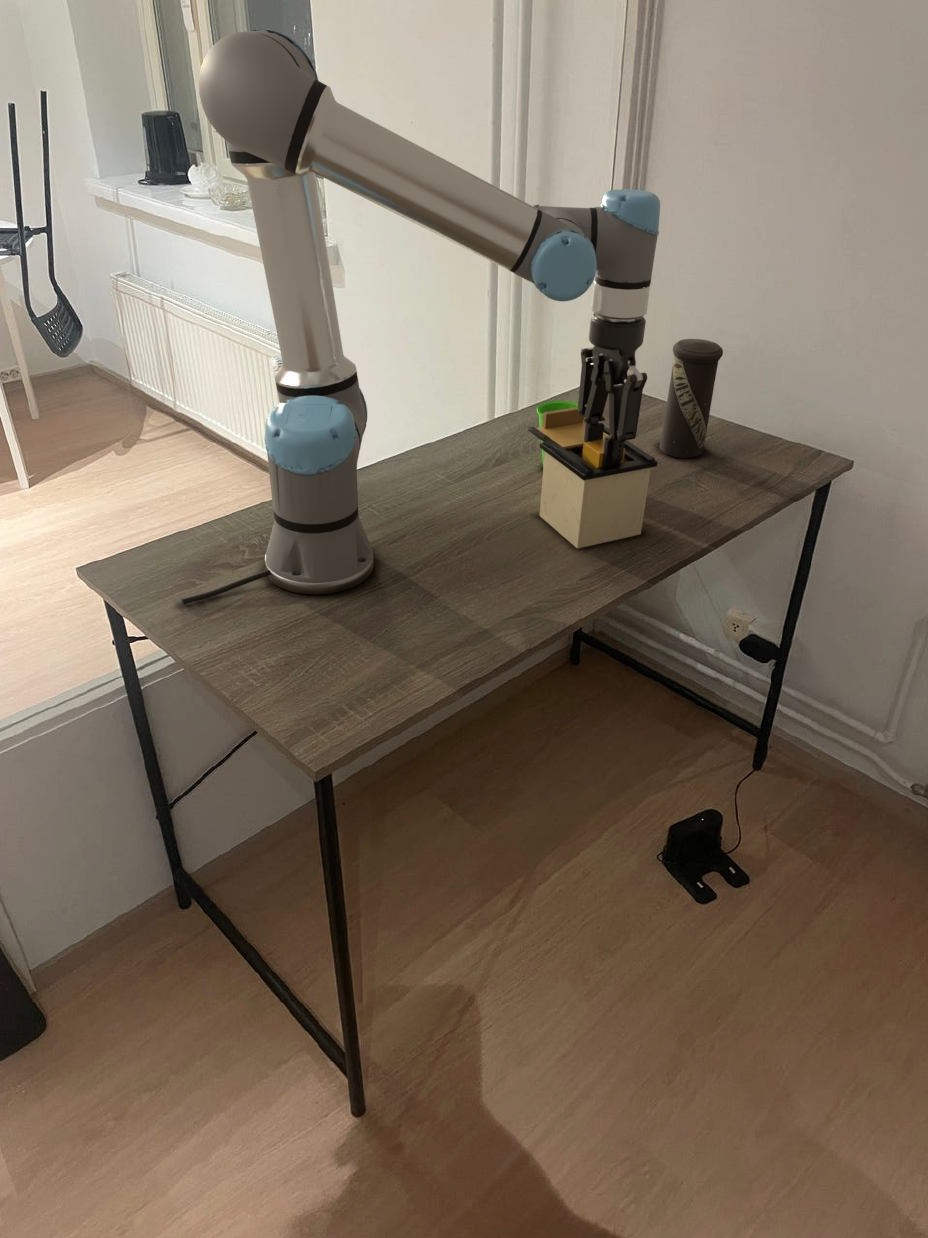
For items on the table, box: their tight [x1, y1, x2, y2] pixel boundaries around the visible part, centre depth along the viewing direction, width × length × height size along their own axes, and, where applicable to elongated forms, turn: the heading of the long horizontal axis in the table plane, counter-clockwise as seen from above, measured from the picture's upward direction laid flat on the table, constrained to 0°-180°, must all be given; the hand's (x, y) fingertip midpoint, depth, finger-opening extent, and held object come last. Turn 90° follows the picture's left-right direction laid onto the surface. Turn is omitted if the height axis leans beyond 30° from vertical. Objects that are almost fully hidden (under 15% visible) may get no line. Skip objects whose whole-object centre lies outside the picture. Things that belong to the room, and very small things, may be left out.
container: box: [659, 338, 724, 459], centre depth 164 cm, size 9×9×20 cm
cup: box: [536, 400, 584, 467], centre depth 158 cm, size 9×9×11 cm
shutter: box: [536, 407, 609, 449], centre depth 141 cm, size 9×8×3 cm
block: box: [582, 439, 625, 468], centre depth 136 cm, size 4×4×4 cm
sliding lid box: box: [527, 422, 658, 549], centre depth 142 cm, size 13×18×13 cm
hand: (600, 471), depth 137 cm, fingers closed on block, 4 cm apart
